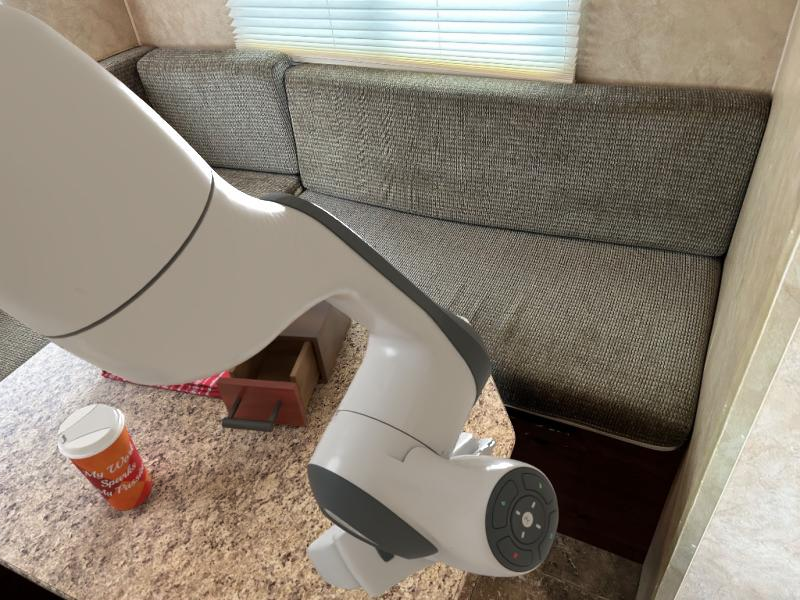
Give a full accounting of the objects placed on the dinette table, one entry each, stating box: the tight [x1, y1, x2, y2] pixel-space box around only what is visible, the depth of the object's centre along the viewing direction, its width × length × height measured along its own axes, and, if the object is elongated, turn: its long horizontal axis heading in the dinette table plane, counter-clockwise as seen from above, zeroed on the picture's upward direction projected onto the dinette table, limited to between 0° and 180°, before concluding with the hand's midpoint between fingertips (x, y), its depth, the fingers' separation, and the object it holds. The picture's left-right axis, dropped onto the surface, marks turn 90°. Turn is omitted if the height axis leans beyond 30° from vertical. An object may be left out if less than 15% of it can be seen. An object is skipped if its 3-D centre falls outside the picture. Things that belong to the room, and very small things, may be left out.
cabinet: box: [275, 300, 352, 384], centre depth 97 cm, size 15×13×10 cm
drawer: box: [216, 339, 321, 433], centre depth 87 cm, size 18×11×8 cm, turn 169°
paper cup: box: [57, 403, 153, 511], centre depth 77 cm, size 8×8×14 cm
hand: (373, 498), depth 68 cm, fingers open, 8 cm apart
